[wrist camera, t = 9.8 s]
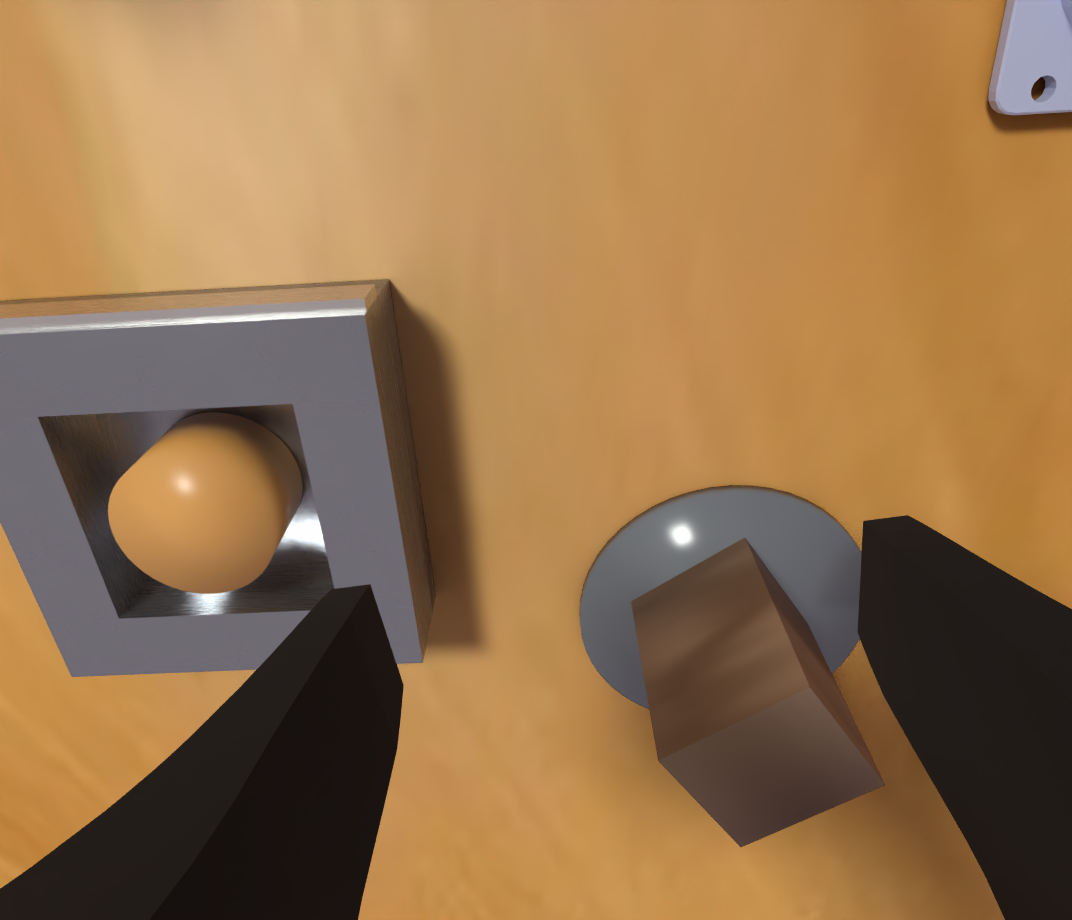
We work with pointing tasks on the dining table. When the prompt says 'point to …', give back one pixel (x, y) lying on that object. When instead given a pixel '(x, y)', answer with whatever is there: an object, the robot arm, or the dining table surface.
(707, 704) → the block
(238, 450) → the button
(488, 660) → the dining table surface
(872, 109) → the dining table surface
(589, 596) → the coaster
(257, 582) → the grey square frame
